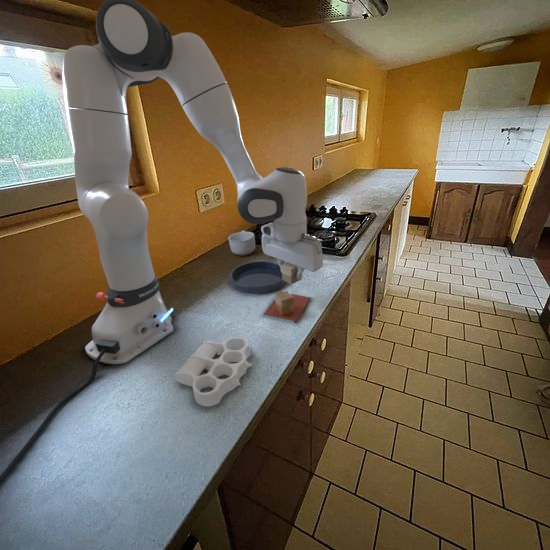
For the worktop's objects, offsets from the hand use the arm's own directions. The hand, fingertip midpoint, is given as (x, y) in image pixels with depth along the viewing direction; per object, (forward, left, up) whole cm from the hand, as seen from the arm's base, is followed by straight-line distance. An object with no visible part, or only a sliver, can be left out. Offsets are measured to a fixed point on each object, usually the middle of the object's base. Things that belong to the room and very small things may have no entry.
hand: (291, 275), depth 88 cm
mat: (-3, 0, -9) cm, 10 cm away
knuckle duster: (-33, +5, -9) cm, 35 cm away
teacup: (+30, +33, -9) cm, 45 cm away
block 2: (-6, 0, -9) cm, 10 cm away
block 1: (0, 0, -2) cm, 2 cm away
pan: (+9, +16, -9) cm, 20 cm away
